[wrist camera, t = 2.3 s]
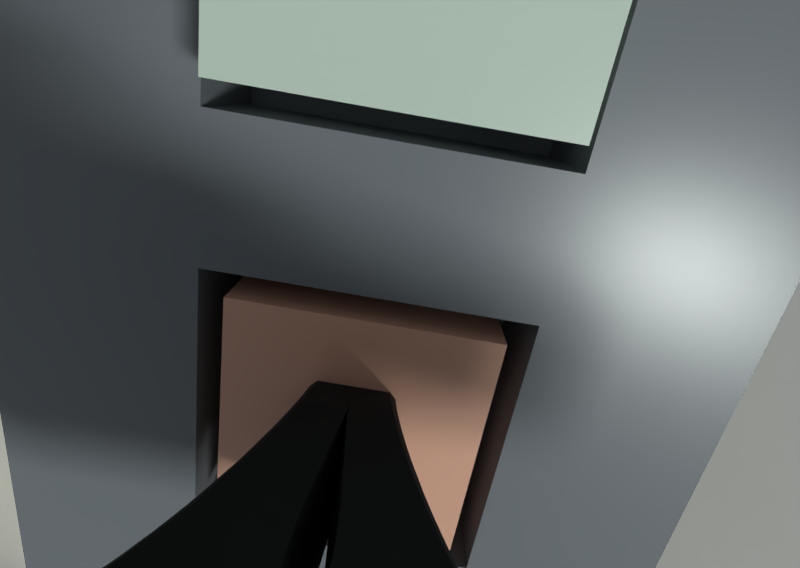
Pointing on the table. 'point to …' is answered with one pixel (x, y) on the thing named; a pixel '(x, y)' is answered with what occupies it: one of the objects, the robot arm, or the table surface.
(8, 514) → the table surface
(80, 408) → the keypad
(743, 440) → the table surface
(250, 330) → the terracotta key
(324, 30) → the sage key
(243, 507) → the robot arm
